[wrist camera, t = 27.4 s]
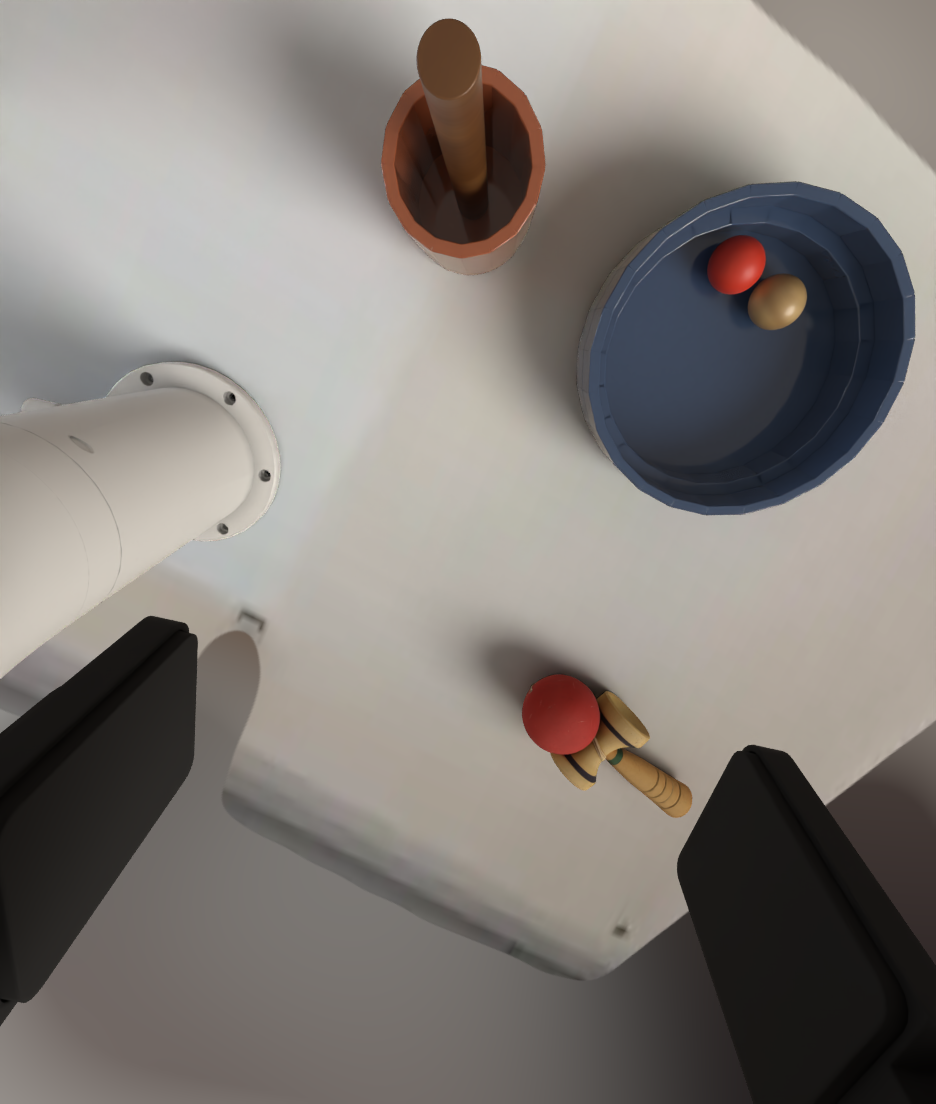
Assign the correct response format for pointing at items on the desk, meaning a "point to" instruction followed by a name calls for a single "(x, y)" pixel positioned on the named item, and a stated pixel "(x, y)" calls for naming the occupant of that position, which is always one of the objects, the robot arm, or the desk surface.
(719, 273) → the red bead
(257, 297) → the desk surface
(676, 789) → the kendama
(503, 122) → the holder
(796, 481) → the bowl
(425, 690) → the desk surface
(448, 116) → the stick
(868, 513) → the desk surface
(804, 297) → the beech bead
